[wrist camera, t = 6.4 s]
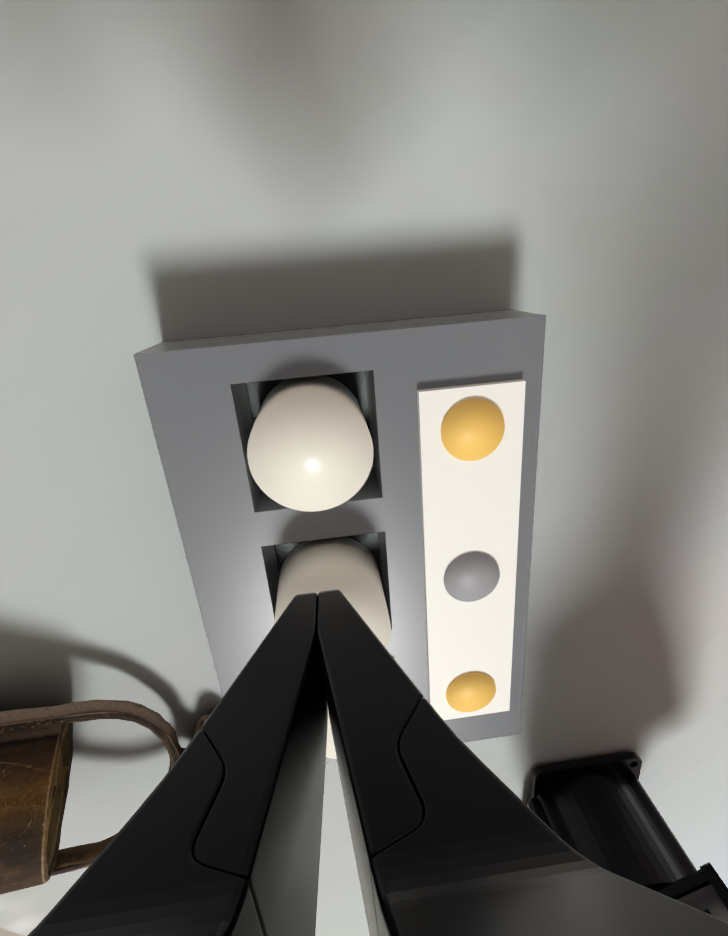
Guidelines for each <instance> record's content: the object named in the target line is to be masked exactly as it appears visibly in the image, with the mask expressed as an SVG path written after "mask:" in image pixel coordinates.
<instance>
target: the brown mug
mask: <svg viewBox="0 0 728 936" xmlns="http://www.w3.org/2000/svg"><path fill="white" fill-rule="evenodd" d="M209 716H210V714H209V715H204V716H201V718H200V719H199V720H198V722H197V725H196V729H195V733H194V736H195V735H196V734H197V732H198V731H200V730H201V728H202V726H203V724H204V723H205V721H206V720H207V719H208V717H209ZM97 719H121V720H127V721H133V722H136V723H138V724H140V725H142V726H144V727H146V728H148V729H150V730H151V731H152V732H153V733H154V734H155V735H156V736H157V737H159V738H160V739H161V740H162V742H163V744H164V745H165V747H166V749H167V751H168V753H169V756H170V767H169V770H170V769H171V768H172V766H173V765H174V764H175V762H176V761H177V760H178V758H179V757H180V756H181V754H182V753H183V752H184V750H185V749H186V748H181V747H180V745H179V743H178V739H177V736H176V732H175V731H174V729H173V728H172V726H171V725H170V723H168V722H167V721H165V720H164V718H163V717H162V716H161V715H160V714H159V713H157V712H155V711H153V710H151V709H149V708H147V707H145V706H143V705H141V704H137V703H134V702H130V701H117V700H90V701H82V702H73V703H67V704H62V705H57V706H50V707H39V708H28V709H18V710H9V711H1V712H0V894H4V893H8V892H12V891H16V890H20V889H24V888H29V887H33V886H37V885H41V884H44V883H46V882H47V881H48V880H49V879H50V877H51V876H53V875H57V874H61V873H66V872H70V871H75V870H78V869H81V868H85V867H88V866H90V865H91V864H92V863H93V861H94V860H95V859H96V858H97V857H98V856H99V855H100V853H101V852H102V851H103V850H104V849H105V848H106V846H107V845H108V844H109V843H110V842H111V841H112V839H113V838H114V837H115V836H116V835H117V834H118V833H117V834H115V835H114V836H112V837H110V838H108V839H105V840H103V841H101V842H96V843H91V844H85V845H80V846H75V847H70V848H66V849H61V850H59V844H60V835H61V825H62V820H63V815H64V809H65V804H66V798H67V793H68V788H69V777H70V769H71V762H72V754H73V739H72V734H73V724H72V723H73V722H82V721H89V720H97ZM193 738H194V737H193ZM168 772H169V771H168Z"/></svg>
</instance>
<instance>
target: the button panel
mask: <svg viewBox="0 0 728 936" xmlns="http://www.w3.org/2000/svg"><path fill="white" fill-rule="evenodd" d="M545 323H546V315H541V314H534V313H528V312H521V311H515V310H502V311H491V312H480V313H470V314H459V315H448V316H438V317H427V318H416V319H405V320H395V321H384V322H373V323H363V324H352V325H341V326H331V327H320V328H309V329H299V330H288V331H277V332H266V333H256V334H245V335H234V336H224V337H213V338H202V339H192V340H181V341H170V342H162V343H159V344H157V345H155V346H152V347H150V348H148V349H145V350H143V351H140V352H138V353H136V354H134V358H135V362H136V366H137V370H138V373H139V377H140V381H141V385H142V389H143V393H144V396H145V400H146V404H147V408H148V412H149V416H150V419H151V423H152V427H153V431H154V435H155V439H156V442H157V446H158V450H159V454H160V458H161V462H162V465H163V469H164V473H165V477H166V481H167V485H168V488H169V492H170V496H171V500H172V504H173V508H174V511H175V515H176V519H177V523H178V527H179V531H180V534H181V538H182V542H183V546H184V550H185V554H186V557H187V561H188V565H189V569H190V573H191V577H192V580H193V584H194V588H195V592H196V596H197V600H198V603H199V607H200V611H201V615H202V619H203V623H204V626H205V630H206V634H207V638H208V642H209V646H210V649H211V653H212V657H213V661H214V665H215V669H216V672H217V676H218V680H219V684H220V688H221V692H222V695H223V696H224V695H225V693H226V692H227V690H228V689H229V688H230V686H231V685H232V683H233V682H234V681H235V679H236V678H237V676H238V675H239V674H240V672H241V671H242V669H243V668H244V667H245V665H246V664H247V662H248V661H249V660H250V658H251V657H252V655H253V654H254V653H255V651H256V650H257V648H258V647H259V645H260V644H261V643H262V641H263V640H264V638H265V637H266V636H267V634H268V633H269V631H270V630H271V629H272V627H273V626H274V619H275V610H276V601H277V592H278V583H279V575H280V574H279V569H278V563H277V557H276V552H275V546H274V545H278V544H286V543H294V542H302V541H311V540H319V539H327V538H335V537H343V536H352V535H360V534H368V533H376V532H378V537H379V550H380V563H381V575H382V587H383V592H384V596H385V601H386V605H387V609H388V614H389V618H390V623H391V637H390V641H389V644H388V647H387V650H388V651H389V653H390V654H391V655H392V657H393V658H394V659H395V660H396V662H397V663H398V664H399V665H400V667H401V668H402V669H403V670H404V672H405V673H406V674H407V675H408V677H409V678H410V679H411V681H412V682H413V683H414V684H415V686H416V687H417V688H418V689H419V691H420V692H421V693H422V694H423V696H424V698H425V699H427V700H428V702H429V690H428V664H427V638H426V612H425V586H424V560H423V534H422V508H421V482H420V456H419V430H418V404H417V390H422V389H432V388H441V387H451V386H461V385H470V384H480V383H490V382H499V381H509V380H519V379H523V380H525V381H526V386H525V406H524V426H523V446H522V467H521V487H520V507H519V527H518V547H517V568H516V588H515V608H514V628H513V649H512V669H511V689H510V709H509V711H504V712H497V713H490V714H483V715H477V716H470V717H463V718H457V719H450V720H444V721H445V723H446V724H447V725H448V726H449V727H450V728H451V730H452V731H453V732H454V733H455V734H456V735H457V737H458V738H459V739H460V740H461V741H462V742H470V741H476V740H483V739H490V738H496V737H503V736H509V735H516V734H520V723H521V707H522V691H523V675H524V659H525V643H526V627H527V611H528V595H529V579H530V563H531V547H532V531H533V515H534V499H535V483H536V467H537V451H538V435H539V419H540V403H541V387H542V371H543V355H544V339H545ZM360 371H365V373H366V386H367V398H368V411H369V424H370V435H371V438H372V442H373V467H371V471H370V473H369V476H368V478H367V480H366V481H365V483H364V485H363V486H362V487H361V489H360V490H359V491H358V492H357V493H356V494H355V495H354V496H353V497H351V498H350V499H349V500H348V501H346V502H344V503H343V504H341V505H339V506H336V507H334V508H331V509H327V510H323V511H314V512H308V511H299V510H294V509H291V508H287V507H285V506H283V505H280V504H279V503H277V502H275V501H274V500H272V499H271V498H270V497H268V496H267V495H266V494H265V493H264V492H263V491H262V490H261V489H260V487H259V486H258V485H257V483H256V482H255V480H254V478H253V476H252V474H251V471H250V468H249V464H248V458H247V446H248V440H249V437H250V434H251V431H252V428H253V421H252V416H251V410H250V404H249V399H248V393H247V387H246V383H249V382H260V381H270V380H280V379H290V378H300V377H310V376H320V375H330V374H340V373H350V372H360ZM332 762H337V759H332V758H327V757H326V761H325V763H332Z"/></svg>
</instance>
